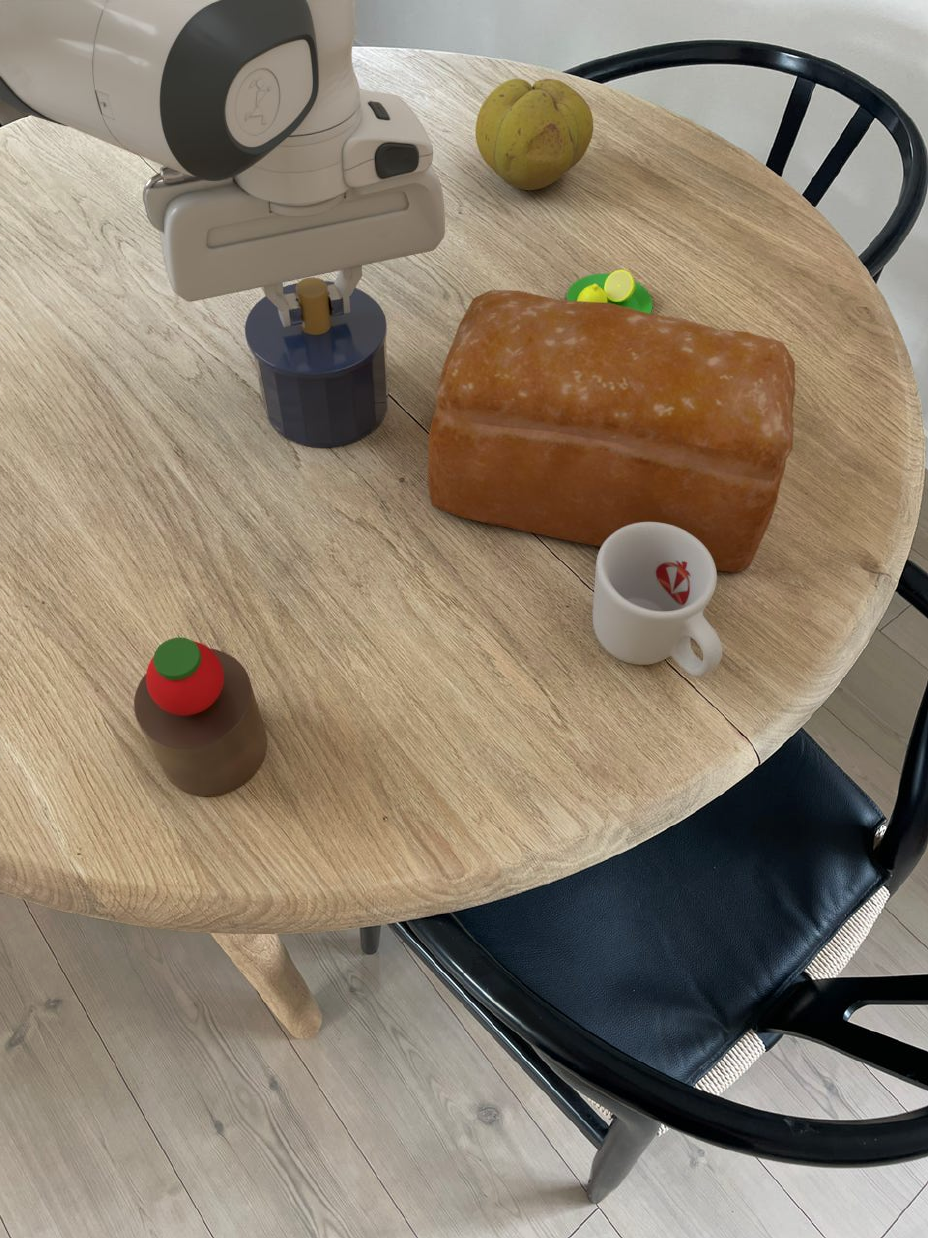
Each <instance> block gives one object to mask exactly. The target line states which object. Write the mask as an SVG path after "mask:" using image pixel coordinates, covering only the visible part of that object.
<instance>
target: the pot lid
mask: <svg viewBox="0 0 928 1238" xmlns="http://www.w3.org/2000/svg"><path fill="white" fill-rule="evenodd" d="M334 282H335V281H329V280H324V279H322V278H318V277H306V278H302V279H300V281H298V282H295V283H292V284H288V285H286V286H283V294H284V295H285V294H290V293H295V295H296V297H297V301H298V302H299V304H300V306H301V311H302V315H301V316H302V319H303V323H302V324H298V325H294V326H289V327H284V326H283V324H282V321H281V319H280V316H279V312H278V308H277V307H276V306H275V305H274V304H273V303H272V302H271V301H270V300H269V299H268V298H267V297H266V296H265V295H264V297H262V298H261V299H260V300H258V301H257V302H256V303H255V305H254V306H253V307H252V308H251V310H250V311H249V312H248V314H247V317H246V321H245V324H244V335H245V341H246V345H247V347H248V350H249V352H251V354H252V356H253V357H255V358H256V359H257V360H258V361H259V362H260V363H262V364H263V365H265V366H266V367H267V368H269V369H271V370H273V371H275V372H278V373H280V374H283V375H287V376H290V377H295V378H302V379H324V378H331V377H337V376H340V375H344V374H347V373H350V372H352V371H355V370H356V369H358V368H360V367H362V366H364V365H365V364H367V363H368V362H369V361H371V360H372V359H373V358H374V357H375V356H376V355H377V354H378V352H379V351H380V349H381V348H382V346H383V344H384V342H385V339H386V340H387V334H388V333H387V332H388V331H387V328H388V327H387V318H386V315H385V312H384V310H383V309H382V307H381V305H380V304H379V303H378V301H376V299H374V298H373V297H372V296H371V295H370V294H368V293H366V292H365V291H363V290H361V289H359V288H357V287H355V289H354V291H353V293H352V294H351V296H349V300H350V313H347V314H342V315H337V316H331V314H330V305H329V295H328V285H332V284H334ZM255 358H254V359H255Z"/></svg>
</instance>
